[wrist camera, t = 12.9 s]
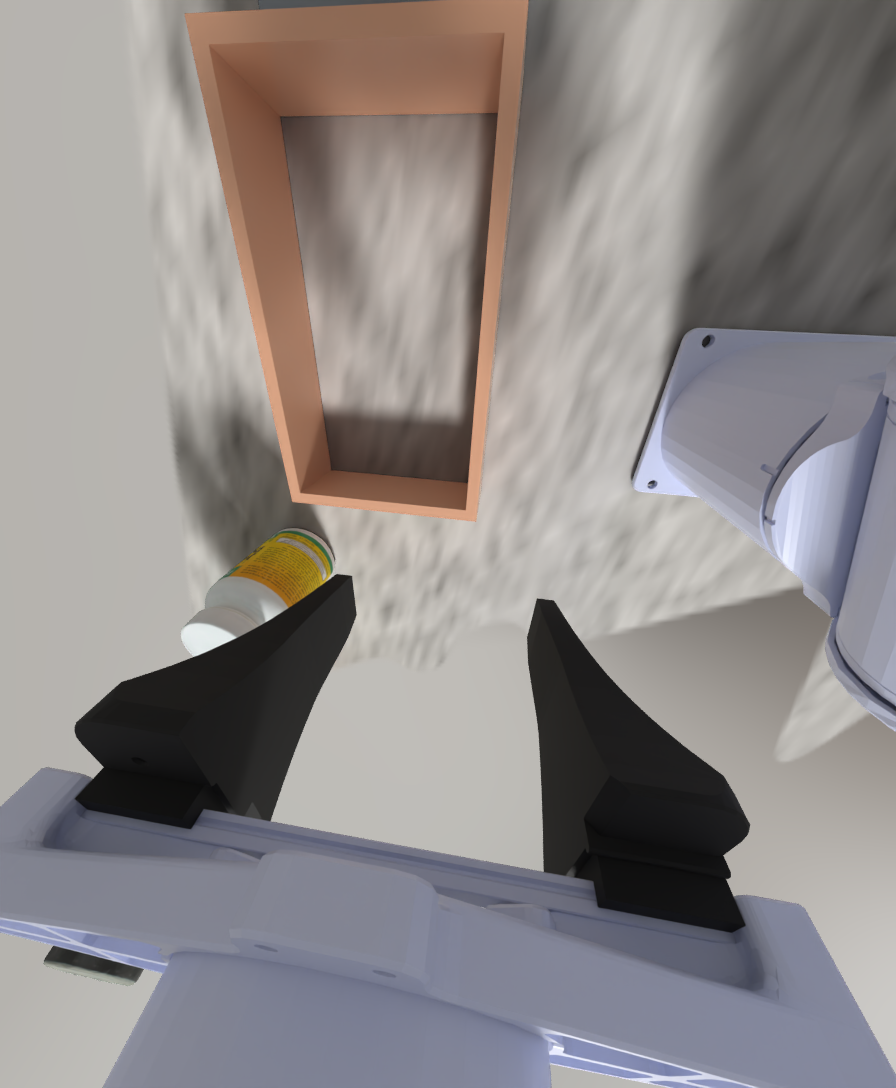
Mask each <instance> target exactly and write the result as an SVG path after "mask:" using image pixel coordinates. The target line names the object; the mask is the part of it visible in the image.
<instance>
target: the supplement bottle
mask: <svg viewBox="0 0 896 1088" xmlns="http://www.w3.org/2000/svg"><path fill="white" fill-rule="evenodd" d="M334 570H335V561H334V558H333V555H332V553H331V550H330V549H329V547H328V546H327V544H326V543H325V542H324V541H323V540H322V539H321V538H319V537H318V536H317V535H315V534H313V533H311V532H309V531H306V530H303V529H298V528H289V529H284V530H281V531H279V532H277V533H276V534H274V535H273V536H272V537H271V538H269V539H268V540H267V541H266V542H265V543H263V544H262V545H261V546H260V547H259V548H257V549H256V550H255V551H254V552H253V553H252V554H250V555H249V556H248V557H246V558H245V559H244V560H243V561H242V562H240V563H239V564H238V565H237V566H235V567H234V568H233V569H232V570H231V571H229V572H228V573H227V574H226V575H224V576H223V577H222V578H221V579H220V580H218V581H217V582H216V583H215V584H214V585H213V586H212V587H211V588H210V589H209V591H208V593H207V595H206V598H205V609H204V610H201V611H199V612H198V613H197V614H196V615H195V616H194V617H193V618H192V619H191V620H190V621H189V622H188V623H187V624H186V625H185V626H184V627H183V629H182V631H181V639H182V642H183V644H184V646H185V647H186V649H187V650H188V651H189V652H190V653H191V654H192V655H193V656H194V657H195V656H197V655H200V654H202V653H205V652H207V651H209V650H212V649H214V648H216V647H218V646H220V645H222V644H225V643H227V642H229V641H231V640H233V639H235V638H237V637H239V636H241V635H243V634H245V633H247V632H249V631H251V630H253V629H255V628H256V627H258V626H260V625H262V624H263V623H265V622H267V621H269V620H270V619H272V618H273V617H275V616H277V615H278V614H280V613H281V612H283V611H284V610H286V609H288V608H289V607H291V606H292V605H294V604H295V603H297V602H298V601H300V600H301V599H302V598H304V597H305V596H307V595H308V594H310V593H311V592H312V591H314V590H315V589H317V588H318V587H319V586H321V585H322V584H324V583H325V582H326V581H328V580H329V579H331V577H332V576H333V573H334Z"/></svg>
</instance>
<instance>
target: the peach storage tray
mask: <svg viewBox="0 0 896 1088" xmlns="http://www.w3.org/2000/svg"><path fill="white" fill-rule="evenodd" d="M528 4H529V0H440V1H420V2H401V3H381V4H361V5H342V6H322V7H303V8H283V9H264V10H244V11H224V12H205V13H185V18H186V23H187V27H188V32H189V36H190V41H191V46H192V50H193V55H194V59H195V64H196V68H197V73H198V77H199V82H200V86H201V91H202V95H203V100H204V104H205V109H206V113H207V118H208V123H209V127H210V132H211V136H212V141H213V145H214V150H215V154H216V159H217V163H218V168H219V172H220V177H221V181H222V186H223V190H224V195H225V200H226V204H227V209H228V213H229V218H230V222H231V227H232V231H233V236H234V240H235V245H236V249H237V254H238V258H239V263H240V267H241V272H242V277H243V281H244V286H245V290H246V295H247V299H248V304H249V308H250V313H251V317H252V322H253V326H254V331H255V335H256V340H257V344H258V349H259V354H260V358H261V363H262V367H263V372H264V376H265V381H266V385H267V390H268V394H269V399H270V403H271V408H272V412H273V417H274V421H275V426H276V431H277V435H278V440H279V444H280V449H281V453H282V458H283V462H284V467H285V471H286V476H287V480H288V485H289V489H290V494H291V498H292V502H298V503H308V504H317V505H326V506H336V507H345V508H354V509H363V510H373V511H382V512H391V513H401V514H410V515H419V516H429V517H438V518H447V519H457V520H466V521H475V522H476V519H477V513H478V507H479V500H480V494H481V485H482V475H483V466H484V456H485V446H486V437H487V427H488V417H489V408H490V398H491V388H492V379H493V369H494V359H495V350H496V340H497V330H498V321H499V311H500V301H501V292H502V282H503V272H504V263H505V253H506V243H507V234H508V224H509V215H510V205H511V195H512V186H513V176H514V166H515V157H516V147H517V137H518V128H519V118H520V108H521V99H522V89H523V75H524V61H525V46H526V32H527V18H528ZM466 113H498V120H497V132H496V145H495V157H494V170H493V182H492V194H491V207H490V219H489V231H488V244H487V256H486V268H485V281H484V293H483V306H482V318H481V330H480V343H479V355H478V367H477V380H476V392H475V404H474V417H473V429H472V442H471V454H470V466H469V479H468V483H462V482H451V481H441V480H430V479H420V478H410V477H399V476H389V475H378V474H368V473H357V472H347V471H336V470H331V463H330V456H329V449H328V442H327V436H326V429H325V422H324V415H323V408H322V401H321V394H320V387H319V380H318V373H317V367H316V360H315V353H314V346H313V339H312V332H311V325H310V318H309V311H308V304H307V298H306V291H305V284H304V277H303V270H302V263H301V256H300V249H299V242H298V235H297V229H296V222H295V215H294V208H293V201H292V194H291V187H290V180H289V173H288V166H287V160H286V153H285V146H284V139H283V132H282V125H281V118H280V117H282V116H343V115H405V114H466Z"/></svg>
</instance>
